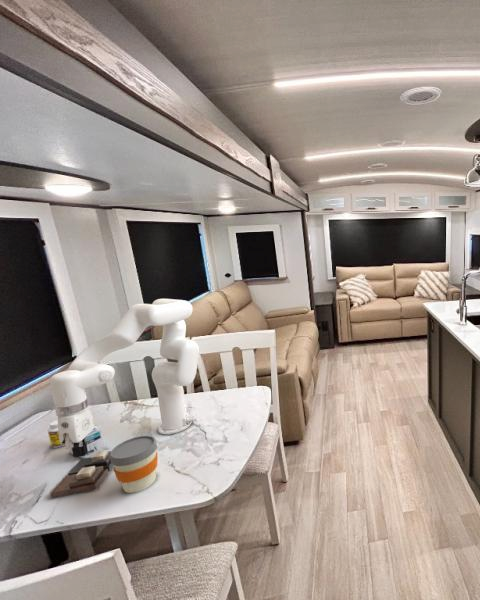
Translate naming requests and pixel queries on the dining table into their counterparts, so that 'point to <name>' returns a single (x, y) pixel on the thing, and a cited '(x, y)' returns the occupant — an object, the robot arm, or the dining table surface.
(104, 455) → the key
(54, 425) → the supplement bottle
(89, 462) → the key block
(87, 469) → the key
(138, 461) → the reusable coffee cup
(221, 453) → the dining table surface
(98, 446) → the light bulb box
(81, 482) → the key block
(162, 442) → the dining table surface
